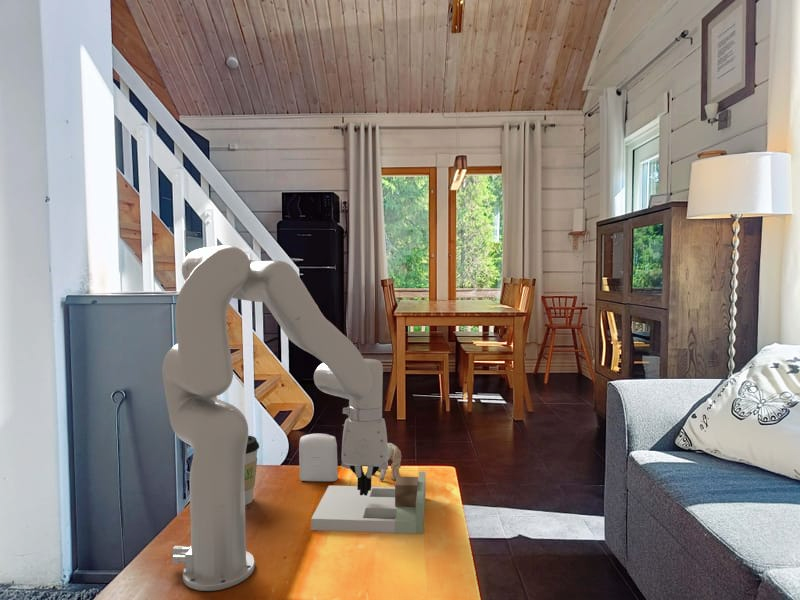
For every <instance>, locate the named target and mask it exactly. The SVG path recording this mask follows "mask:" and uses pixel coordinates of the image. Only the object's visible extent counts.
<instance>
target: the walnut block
mask: <svg viewBox="0 0 800 600" xmlns="http://www.w3.org/2000/svg"><path fill="white" fill-rule="evenodd" d="M418 479H419V476H400V477H397V478H396V479H395V482H394V487H395V507H416V497H417V488H418Z"/></svg>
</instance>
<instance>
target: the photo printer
mask: <svg viewBox="0 0 800 600" xmlns="http://www.w3.org/2000/svg"><path fill="white" fill-rule="evenodd" d="M298 443H299V444H298V447H299V448H298V450H299V451H298V453H299V455H298V456H299V480H300V481H303V482H336V481H337V480H338V478H339V475H338V444H337V439H336V436H334V435H330V434H328V433H310V434H305V435H302V436H301V437H300V438H299V442H298Z"/></svg>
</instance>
